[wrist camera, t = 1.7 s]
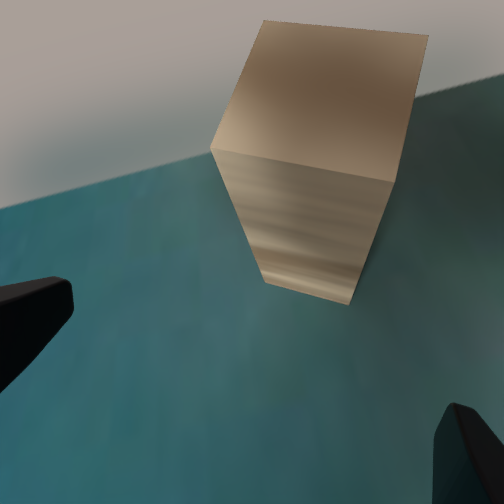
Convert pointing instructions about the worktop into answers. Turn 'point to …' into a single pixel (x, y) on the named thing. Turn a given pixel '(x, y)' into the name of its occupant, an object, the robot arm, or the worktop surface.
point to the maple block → (317, 148)
